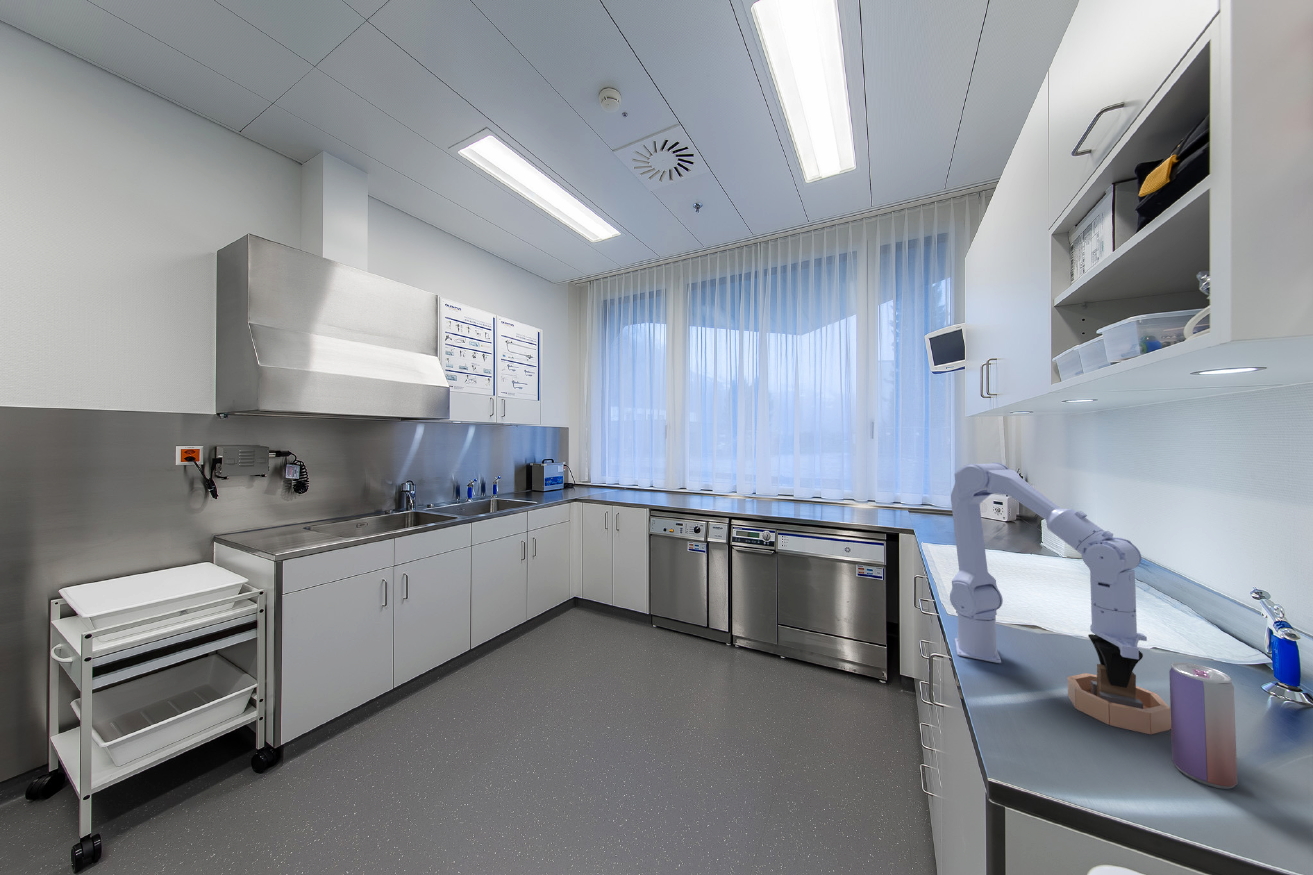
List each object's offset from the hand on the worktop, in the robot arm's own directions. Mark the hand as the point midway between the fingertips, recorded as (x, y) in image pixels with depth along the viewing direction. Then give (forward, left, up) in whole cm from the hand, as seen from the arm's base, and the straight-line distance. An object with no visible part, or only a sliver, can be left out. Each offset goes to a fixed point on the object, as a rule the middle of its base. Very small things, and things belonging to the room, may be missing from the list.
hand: (1115, 682), depth 80 cm
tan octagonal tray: (0, 0, -5) cm, 5 cm away
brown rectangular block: (0, 0, -4) cm, 4 cm away
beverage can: (+15, +5, -5) cm, 17 cm away
